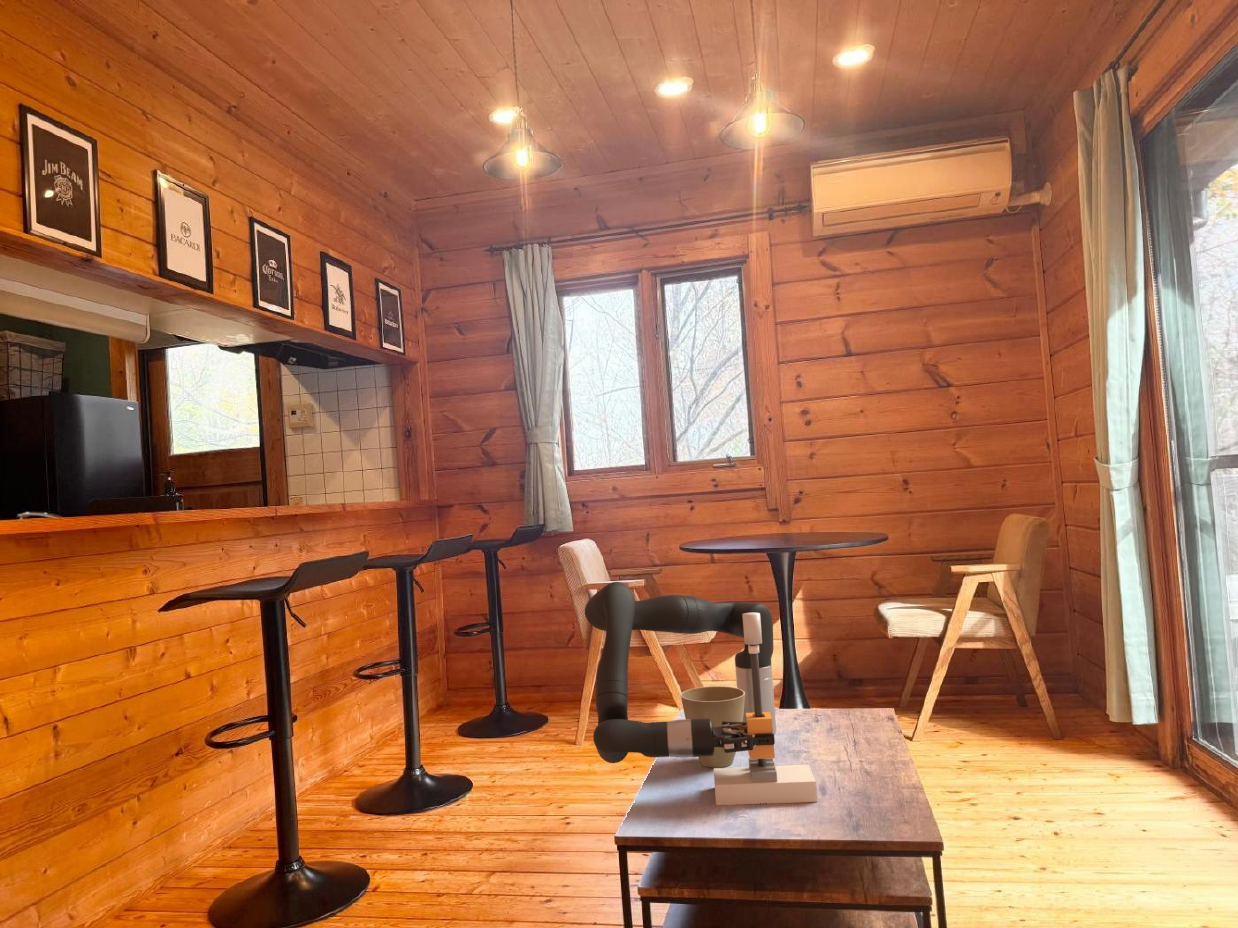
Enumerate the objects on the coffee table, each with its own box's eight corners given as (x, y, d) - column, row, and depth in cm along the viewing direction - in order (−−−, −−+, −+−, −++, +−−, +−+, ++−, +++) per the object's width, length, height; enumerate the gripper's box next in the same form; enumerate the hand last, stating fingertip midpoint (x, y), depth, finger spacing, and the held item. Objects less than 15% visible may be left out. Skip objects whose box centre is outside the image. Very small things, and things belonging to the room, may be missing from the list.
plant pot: (748, 773, 185) (743, 700, 186) (681, 773, 188) (676, 701, 188) (751, 751, 200) (746, 684, 200) (689, 752, 203) (684, 685, 203)
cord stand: (714, 787, 178) (702, 612, 179) (810, 783, 176) (797, 607, 177) (716, 805, 168) (703, 620, 169) (817, 801, 166) (803, 614, 167)
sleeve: (748, 751, 175) (745, 712, 175) (772, 750, 175) (769, 711, 175) (750, 759, 170) (747, 719, 170) (774, 758, 170) (771, 718, 170)
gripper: (688, 729, 167) (775, 726, 165) (689, 710, 181) (768, 706, 180) (691, 767, 166) (778, 764, 165) (691, 745, 181) (771, 742, 179)
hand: (772, 734), depth 172 cm, fingers closed on sleeve, 5 cm apart
